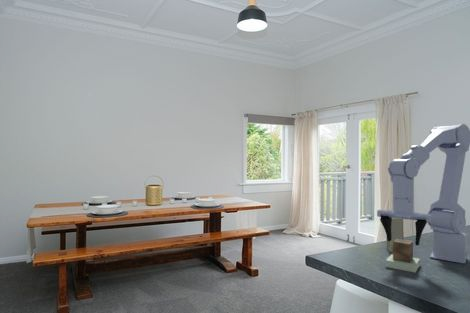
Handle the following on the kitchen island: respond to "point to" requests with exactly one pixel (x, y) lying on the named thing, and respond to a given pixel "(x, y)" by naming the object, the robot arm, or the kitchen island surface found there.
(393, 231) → the skincare box
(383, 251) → the kitchen island surface
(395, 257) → the walnut block
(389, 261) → the base slab
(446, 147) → the robot arm
